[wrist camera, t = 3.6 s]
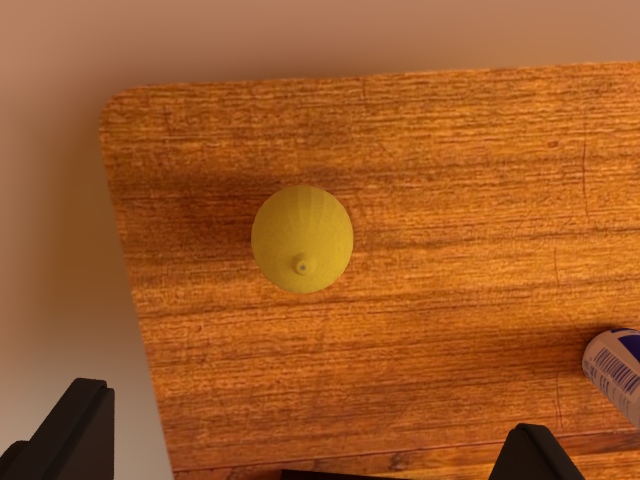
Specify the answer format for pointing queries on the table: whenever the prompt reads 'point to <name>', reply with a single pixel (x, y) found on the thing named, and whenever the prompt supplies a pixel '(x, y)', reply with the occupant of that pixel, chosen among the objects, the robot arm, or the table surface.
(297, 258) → the lemon
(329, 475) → the hob
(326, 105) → the table surface
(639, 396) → the beverage can
